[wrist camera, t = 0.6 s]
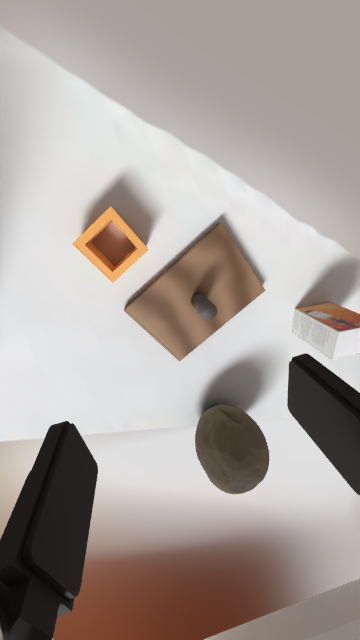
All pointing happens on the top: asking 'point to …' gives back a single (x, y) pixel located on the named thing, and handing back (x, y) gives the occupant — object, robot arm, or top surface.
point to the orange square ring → (97, 257)
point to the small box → (328, 329)
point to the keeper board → (194, 277)
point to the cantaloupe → (231, 449)
